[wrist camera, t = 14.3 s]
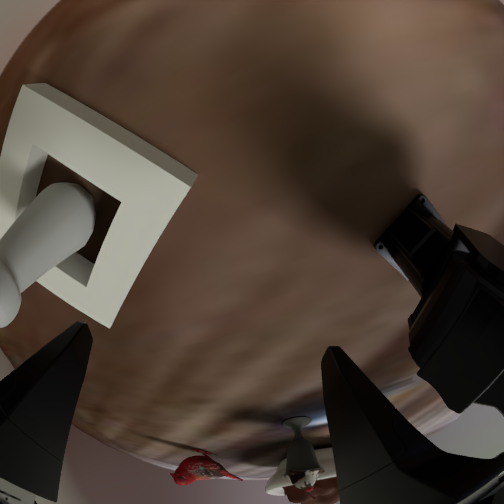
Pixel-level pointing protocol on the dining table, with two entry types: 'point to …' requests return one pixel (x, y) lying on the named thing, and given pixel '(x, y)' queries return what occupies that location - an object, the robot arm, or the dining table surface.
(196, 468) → the decorative bird figurine
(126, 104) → the dining table surface
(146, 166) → the grey block
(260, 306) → the dining table surface
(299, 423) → the sundae
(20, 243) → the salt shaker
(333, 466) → the bowl of chocolate pudding
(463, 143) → the dining table surface
